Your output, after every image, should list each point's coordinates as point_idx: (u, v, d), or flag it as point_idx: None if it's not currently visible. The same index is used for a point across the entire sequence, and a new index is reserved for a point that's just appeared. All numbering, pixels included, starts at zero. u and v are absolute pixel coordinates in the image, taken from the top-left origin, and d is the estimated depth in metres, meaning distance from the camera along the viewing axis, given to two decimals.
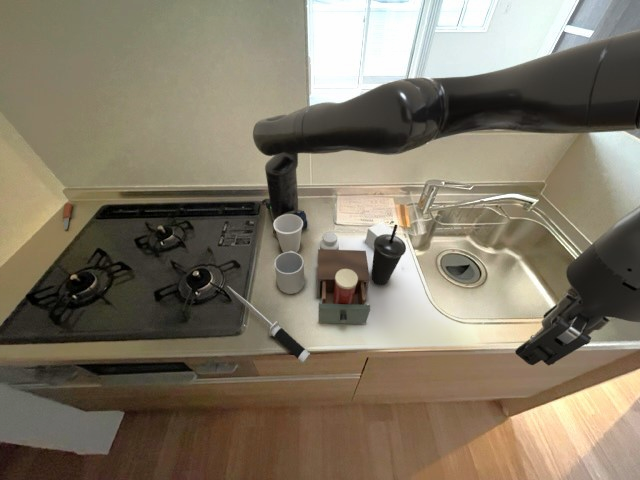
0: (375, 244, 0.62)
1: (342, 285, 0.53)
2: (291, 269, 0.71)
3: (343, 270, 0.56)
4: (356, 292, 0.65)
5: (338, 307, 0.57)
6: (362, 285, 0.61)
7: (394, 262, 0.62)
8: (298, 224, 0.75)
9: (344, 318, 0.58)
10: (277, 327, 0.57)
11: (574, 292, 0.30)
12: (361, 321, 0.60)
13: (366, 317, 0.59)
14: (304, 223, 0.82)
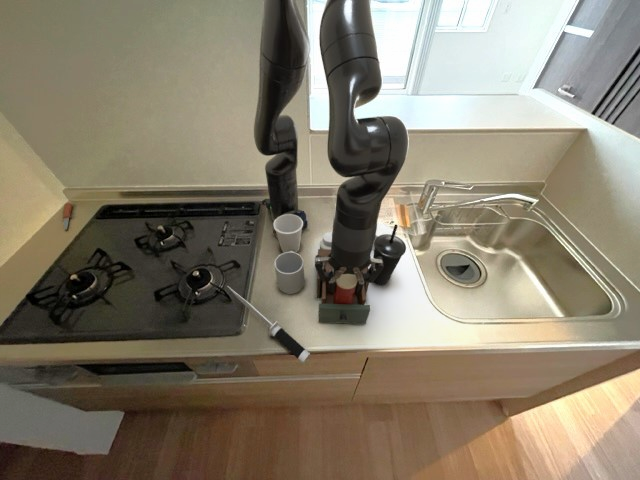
0: (375, 244, 0.62)
1: (342, 285, 0.53)
2: (291, 269, 0.71)
3: None
4: None
5: (338, 307, 0.57)
6: None
7: (394, 262, 0.62)
8: (298, 224, 0.75)
9: (344, 318, 0.58)
10: (277, 327, 0.57)
11: None
12: (361, 321, 0.60)
13: (366, 317, 0.59)
14: (304, 223, 0.82)
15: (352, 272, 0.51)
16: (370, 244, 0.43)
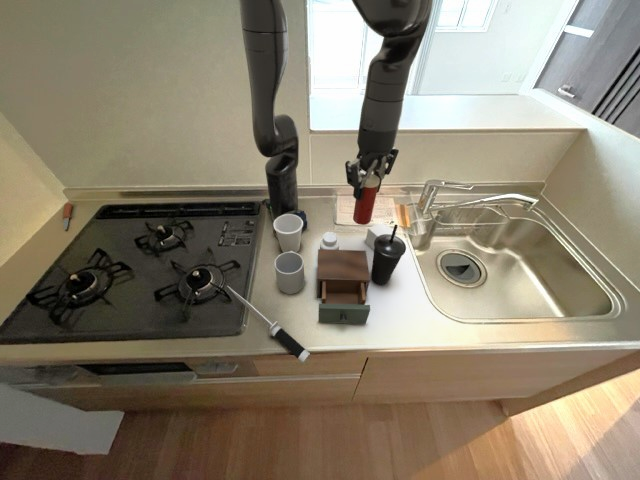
0: (375, 244, 0.62)
1: (372, 184, 0.56)
2: (291, 269, 0.71)
3: None
4: (356, 292, 0.65)
5: (338, 307, 0.57)
6: (362, 285, 0.61)
7: (394, 262, 0.62)
8: (298, 224, 0.75)
9: (344, 318, 0.58)
10: (277, 327, 0.57)
11: None
12: (361, 321, 0.60)
13: (366, 317, 0.59)
14: (304, 223, 0.82)
15: (377, 166, 0.55)
16: None
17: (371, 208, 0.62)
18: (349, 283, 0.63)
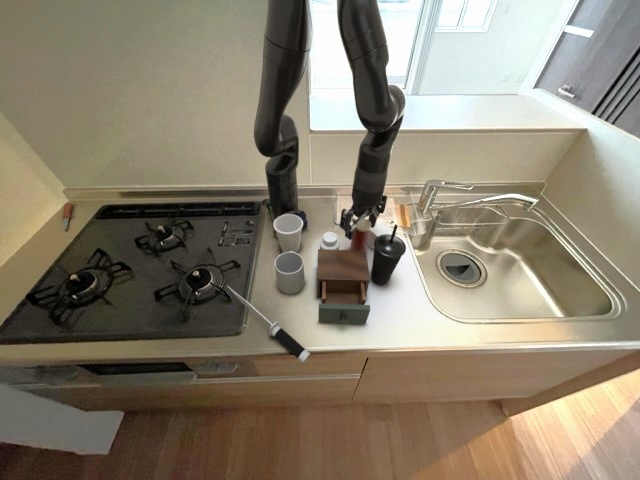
0: (375, 244, 0.62)
1: (364, 229, 0.68)
2: (291, 269, 0.71)
3: None
4: (356, 292, 0.65)
5: (338, 307, 0.57)
6: (362, 285, 0.61)
7: (394, 262, 0.62)
8: (298, 224, 0.75)
9: (344, 318, 0.58)
10: (277, 327, 0.57)
11: None
12: (361, 321, 0.60)
13: (366, 317, 0.59)
14: (304, 223, 0.82)
15: (368, 213, 0.67)
16: None
17: (364, 246, 0.74)
18: (349, 283, 0.63)
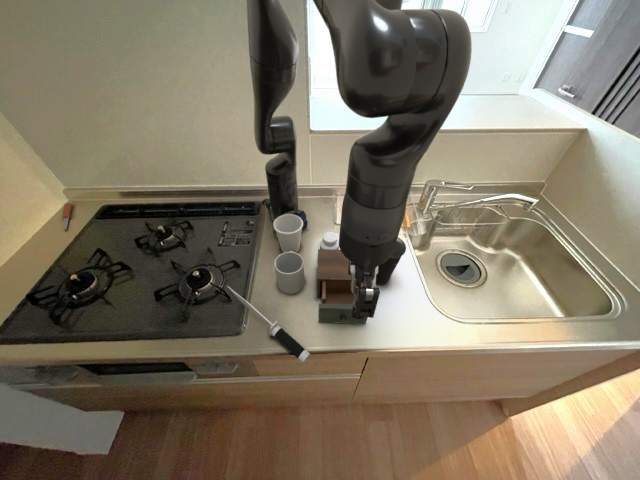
0: None
1: None
2: (291, 269, 0.71)
3: None
4: None
5: (338, 307, 0.57)
6: (362, 285, 0.61)
7: (394, 262, 0.62)
8: (298, 224, 0.75)
9: (344, 318, 0.58)
10: (277, 327, 0.57)
11: None
12: (361, 321, 0.60)
13: (366, 317, 0.59)
14: (304, 223, 0.82)
15: None
16: None
17: None
18: (349, 283, 0.63)
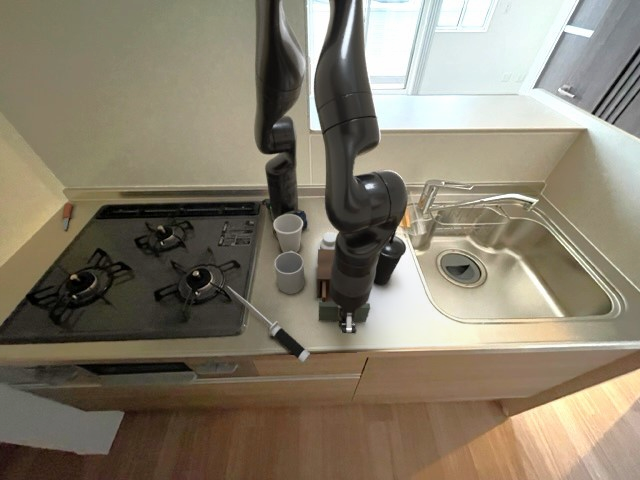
0: None
1: None
2: (291, 269, 0.71)
3: None
4: None
5: None
6: None
7: (394, 262, 0.62)
8: (298, 224, 0.75)
9: None
10: (277, 327, 0.57)
11: None
12: (361, 320, 0.61)
13: (366, 315, 0.59)
14: (304, 223, 0.82)
15: None
16: None
17: None
18: None
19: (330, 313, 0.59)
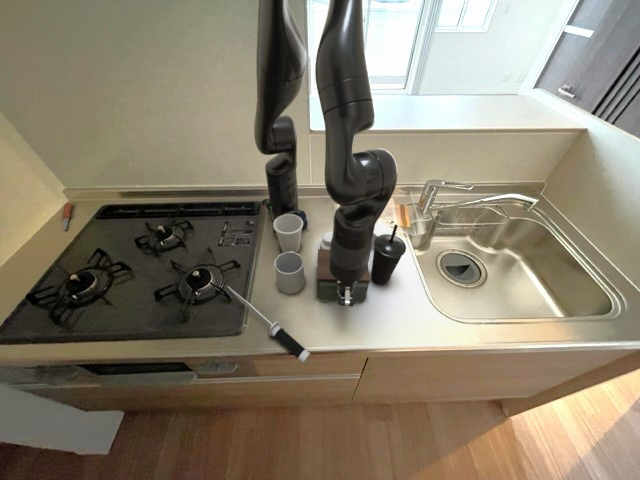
0: (375, 244, 0.62)
1: None
2: (291, 269, 0.71)
3: None
4: None
5: None
6: None
7: (394, 262, 0.62)
8: (298, 224, 0.75)
9: None
10: (277, 327, 0.57)
11: None
12: (359, 299, 0.65)
13: (363, 295, 0.63)
14: (304, 223, 0.82)
15: None
16: None
17: None
18: None
19: (330, 292, 0.63)
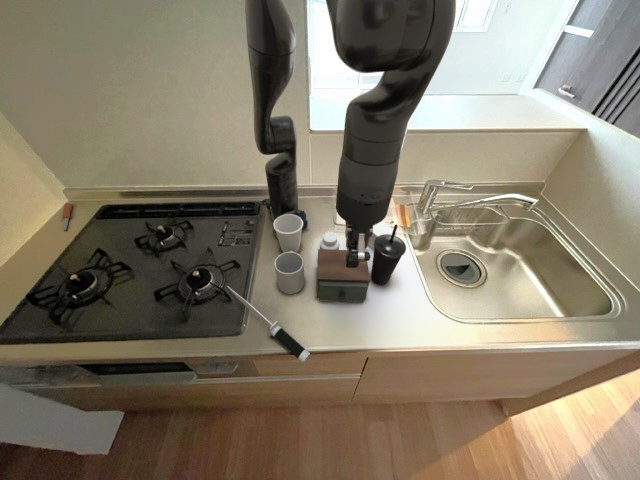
0: (375, 244, 0.62)
1: None
2: (291, 269, 0.71)
3: None
4: None
5: (337, 284, 0.61)
6: None
7: (394, 262, 0.62)
8: (298, 224, 0.75)
9: (343, 295, 0.62)
10: (277, 327, 0.57)
11: None
12: (359, 299, 0.65)
13: (363, 295, 0.63)
14: (304, 223, 0.82)
15: None
16: None
17: None
18: None
19: (330, 292, 0.63)
